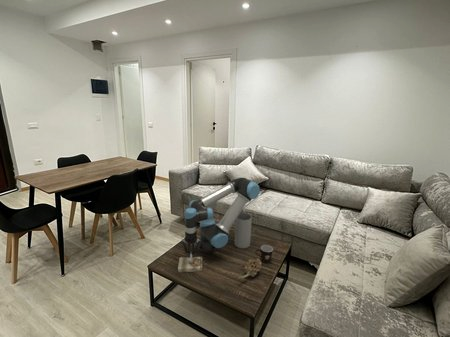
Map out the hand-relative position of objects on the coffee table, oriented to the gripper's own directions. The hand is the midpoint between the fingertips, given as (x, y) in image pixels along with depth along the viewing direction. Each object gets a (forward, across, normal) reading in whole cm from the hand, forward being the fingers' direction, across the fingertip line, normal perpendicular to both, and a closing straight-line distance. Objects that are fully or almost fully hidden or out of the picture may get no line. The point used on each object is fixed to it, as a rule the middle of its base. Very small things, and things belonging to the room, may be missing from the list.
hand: (191, 261), depth 167 cm
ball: (+2, -3, 0) cm, 4 cm away
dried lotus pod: (+4, -39, +12) cm, 41 cm away
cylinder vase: (+4, -40, -24) cm, 46 cm away
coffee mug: (+4, -52, -4) cm, 53 cm away
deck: (+4, 0, 0) cm, 4 cm away
